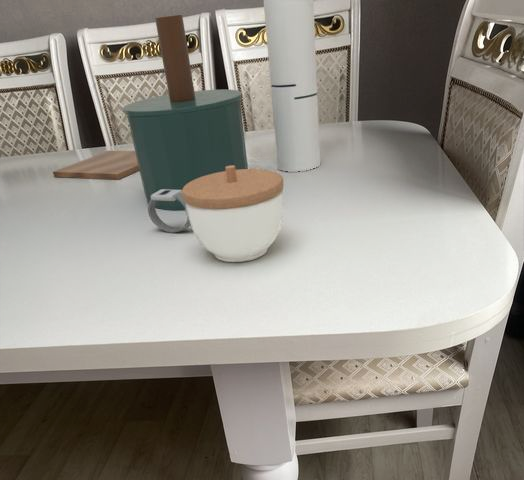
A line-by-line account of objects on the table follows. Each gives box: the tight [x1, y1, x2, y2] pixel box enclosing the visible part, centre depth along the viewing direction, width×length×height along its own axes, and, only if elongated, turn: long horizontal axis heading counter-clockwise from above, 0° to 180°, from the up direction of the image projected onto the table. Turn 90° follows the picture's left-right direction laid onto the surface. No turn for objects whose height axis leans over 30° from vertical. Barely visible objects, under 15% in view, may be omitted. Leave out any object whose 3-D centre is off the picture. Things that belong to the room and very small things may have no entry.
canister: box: [126, 99, 249, 211], centre depth 77 cm, size 16×16×12 cm
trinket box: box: [182, 165, 285, 263], centre depth 57 cm, size 11×11×9 cm
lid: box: [122, 14, 243, 116], centre depth 72 cm, size 17×17×11 cm
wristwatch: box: [147, 189, 191, 234], centre depth 66 cm, size 6×3×5 cm, turn 66°
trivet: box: [52, 150, 140, 181], centre depth 102 cm, size 16×16×1 cm
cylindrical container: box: [263, 0, 321, 173], centre depth 81 cm, size 7×7×25 cm
